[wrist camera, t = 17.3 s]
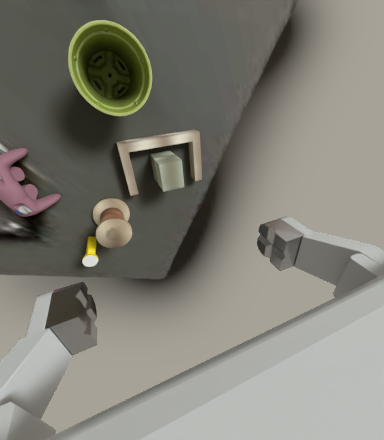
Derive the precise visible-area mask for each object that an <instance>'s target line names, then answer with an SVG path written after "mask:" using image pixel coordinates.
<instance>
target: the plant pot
mask: <svg viewBox="0 0 384 440" xmlns="http://www.w3.org/2000/svg"><path fill="white" fill-rule="evenodd" d="M98 56H101V57H102V58H101V59H99V60H98V61H97V62H96V63H94V60H95V59H96V58H97V57H98ZM118 61H120V62H121V63H122V65H123V66H124V69H125V70H123V69H122V67H121V66H120V64H119V63H118ZM68 64H69V70H70V74H71V77H72V80H73V82H74V84H75V86H76V88H77V89H78V91H79V92H80V94H81V95H82V96H83V98H84V99H85V100H86V101H87V102H88V103H89V104H91V105H92V106H93V107H95V108H96V109H98V110H99V111H101V112H103V113H106V114H109V115H113V116H126V115H130V114H132V113H134V112H136V111H137V110H139V109H140V108H141V107H142V106H143V105H144V103H145V102H146V100H147V98H148V96H149V94H150V90H151V85H152V70H151V65H150V62H149V59H148V56H147V54H146V52H145V50H144V48H143V46H142V45H141V44H140V42H139V41H138V39H137V38H136V37H135V36H134V35H133V34H132V33H131V32H129V31H128V30H127V29H126V28H124V27H122V26H121V25H119V24H116V23H114V22H110V21H105V20H97V21H92V22H89V23H87V24H85V25H84V26H82V27H81V28H80V29H79V30H78V31H77V32H76V33H75V35H74V37H73V38H72V41H71V43H70V46H69V53H68ZM109 73H110V74H111V75H112V77H109V76H108V74H109ZM95 81H97V83H98V84H99V86H100V87H101V88H102V90H100V89H99V88H98V87H97V86H96V84H95ZM123 87H124V90H123V91H122V92H121V93H117V92H118V91H119V90H121V89H122V88H123Z"/></svg>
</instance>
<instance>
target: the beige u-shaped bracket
mask: <svg viewBox="0 0 384 440" xmlns="http://www.w3.org/2000/svg"><path fill="white" fill-rule="evenodd" d="M186 142H188V145H189V157H190V170H191V177H192V178H193V179H194V180H195V181H197V180H202V171H201V150H200V132H199V131H197V130H189V131H183V132H176V133H170V134H164V135H157V136H151V137H144V138H138V139H132V140H125V141H119V142H116V144H117V147H118V151H119V155H120V159H121V163H122V166H123V170H124V174H125V178H126V182H127V185H128V189H129V192H130V195H131V196H132V195H136V194H138V190H137V186H136V182H135V178H134V173H133V169H132V165H131V161H130V156H129V152H134V151H140V150H146V149H151V148H157V147H163V146H169V145H175V144H180V143H186Z"/></svg>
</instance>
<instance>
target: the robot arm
mask: <svg viewBox="0 0 384 440" xmlns="http://www.w3.org/2000/svg"><path fill="white" fill-rule="evenodd" d="M259 233H260V236H259V237H258V240H257V245H258V248H259V250H260V252H261V253H262V254H263V255H264V256H265V257H268V258H270V262H271V263H272V264H273V265H274V266H275V267H276V268H277V269H278V270H279V271H281V270H284V269H287V268H290V267H292V266H294V267H296V268H298V269H300V270H303V271H305V272H307V273H309V274H312V275H314V276H316V277H318V278H320V279H323V280H325V281H327V282H329V283H331V284H334V285H336V288H335V290H334V292H333V294H334V296H335V297H336V298H334V299H332V300H330V301H328V302H326V303H324V304H322V305H320V306H317V307H316V308H314V309H311V310H310V311H307V312H305V313H303V314H301V315H299V316H297V317H295V318H293V319H291V320H289V321H287V322H285V323H283V324H281V325H279V326H277V327H274V328H272V329H271V330H268V331H266V332H264V333H262V334H260V335H258V336H256V337H254V338H252V339H250V340H248V341H246V342H244V343H242V344H240V345H238V346H236V347H234V348H231V349H229V350H227V351H226V352H223V353H221V354H219V355H217V356H215V357H213V358H211V359H209V360H207V361H205V362H203V363H201V364H199V365H197V366H195V367H193V368H190V369H189V370H187V371H184V372H182V373H180V374H178V375H176V376H174V377H172V378H170V379H168V380H166V381H164V382H162V383H160V384H158V385H156V386H154V387H152V388H150V389H148V390H146V391H143V392H141V393H140V394H137V395H135V396H133V397H131V398H129V399H127V400H125V401H123V402H121V403H119V404H117V405H115V406H113V407H111V408H109V409H107V410H105V411H103V412H101V413H98V414H97V415H95V416H92V417H90V418H88V419H86V420H84V421H82V422H80V423H78V424H76V425H74V426H72V427H70V428H68V429H66V430H64V431H62V432H60V433H58V434H56V435H55V429H54V428H53V427H51V426H49V425H48V424H46V423H44V422H43V421H41V420H40V419H41V418H42V416H43V414H44V412H45V410H46V407H47V406H48V404H49V402H50V400H51V398H52V396H53V394H54V392H55V390H56V389H57V386H58V385H59V383H60V381H61V379H62V377H63V375H64V373H65V371H66V369H67V367H68V365H69V363H70V361H71V359H72V358H73V356H72V355H75V354H77V353H79V352H81V351H84V350H86V349H88V348H91V347H93V346H96V345H97V328H96V326H95V324H94V321H95V320H96V318H97V313H96V306H95V303H94V300H93V297H92V295H89V294H87V286H86V285H85V283H84V282H81V283H77V284H74V285H70V286H67V287H64V288H60V289H57V290H54V291H51V292H48V293H45V294H41V295H39V296H38V297H37V299H36V301H35V304H34V308H33V311H32V315H31V319H30V322H29V326H28V329H27V333H26V337H24V338H21V339H20V340H19V341H18V342H17V343H16V344H15V345H14V347H13V348H12V349H11V350H10V351H9V352H8V353H7V355H6V356H5V357H4V358H3V359H2V360H1V362H0V440H384V251H383V250H382V249H380V248H378V247H376V246H374V245H370V244H366V243H362V242H358V241H354V240H349V239H345V238H341V237H337V236H333V235H329V234H324V233H320V232H312V231H311V230H309V229H308V228H306V227H305V226H303V225H302V224H300V223H299V222H297V221H296V220H294V219H292V218H291V217H288V216H285V217H282V218H279V219H277V220H273V221H271V222H267V223H264V224H261V225H260V227H259Z"/></svg>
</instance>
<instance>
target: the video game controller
mask: <svg viewBox="0 0 384 440" xmlns="http://www.w3.org/2000/svg"><path fill="white" fill-rule="evenodd" d="M27 153H28V150H27V149H25V148H18V149H14V150H11V151H8V152H6V153H3V154H1V155H0V200H1V201H2V202H3V203H4V204H6V205H7V206H8V207H9V208H11V209H12V210H14V211H15V213H16V214H18V215H19V216H22V217H26V216H32V215H35V214H37V213H39V212H41V211H43V210H45V209H47V208H48V207H50V206H51V205H53V204H54V203H56V202H57V201H58V200H59V199H60V197H61V195H60V194H52V195H48V196H46V197H43V198H41V199H38V200H37V199H36V197H37V194H38V191H37V188H36V187H35V186H33V185H31V184H28V185H23V186H21V185H20V184H19V183H18V182H17V181H22V180H23V179H24V178H25V175H24V172H23V171H22V170H21V169H20V168H18V167H10V166H11V165H12V164H13V163H15V162H16V161H18V160H20V159H21V158H23V157H24V156H25V155H26V154H27Z"/></svg>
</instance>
